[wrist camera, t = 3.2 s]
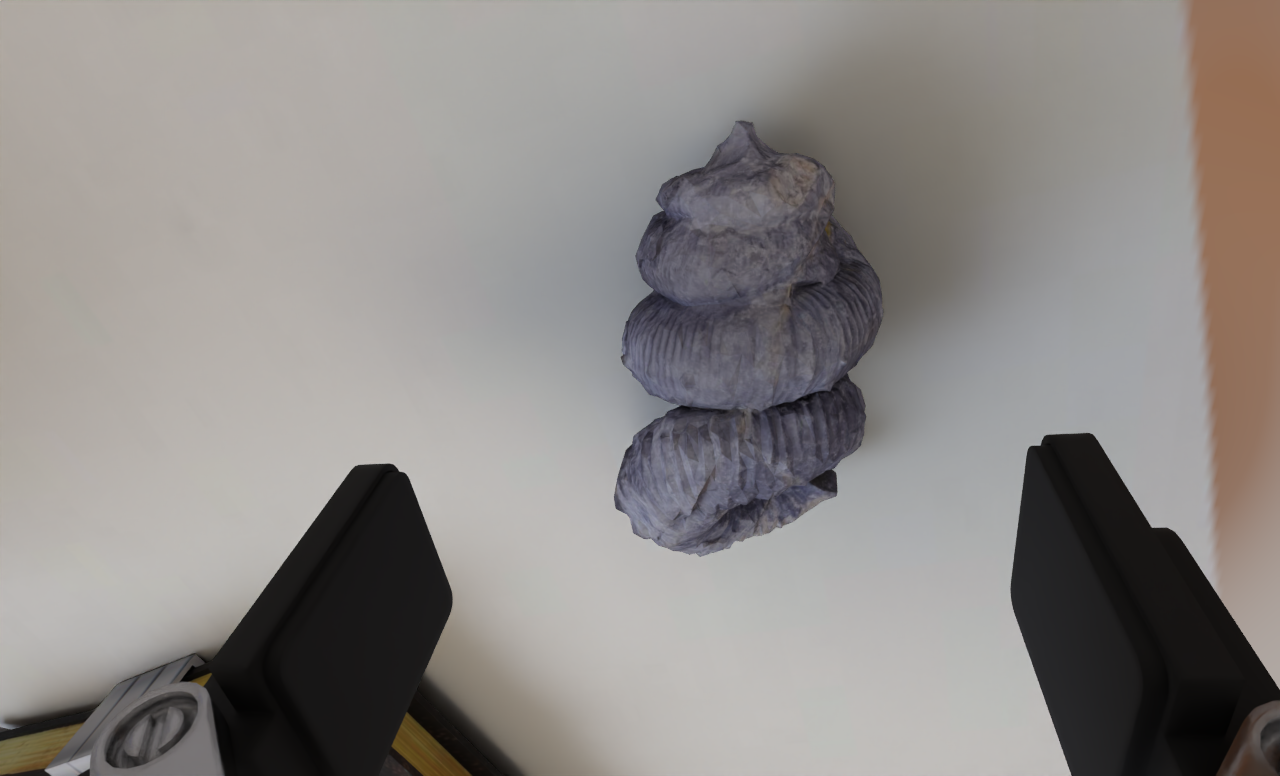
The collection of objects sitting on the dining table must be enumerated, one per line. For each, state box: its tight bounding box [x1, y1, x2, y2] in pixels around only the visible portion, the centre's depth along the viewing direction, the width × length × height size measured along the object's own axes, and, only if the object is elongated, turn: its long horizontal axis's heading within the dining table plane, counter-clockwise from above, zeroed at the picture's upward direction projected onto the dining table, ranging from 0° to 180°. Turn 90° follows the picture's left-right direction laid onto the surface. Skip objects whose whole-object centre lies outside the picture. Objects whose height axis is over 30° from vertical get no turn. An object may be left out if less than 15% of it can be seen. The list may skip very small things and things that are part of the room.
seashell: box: [614, 121, 884, 557], centre depth 16 cm, size 5×5×10 cm
